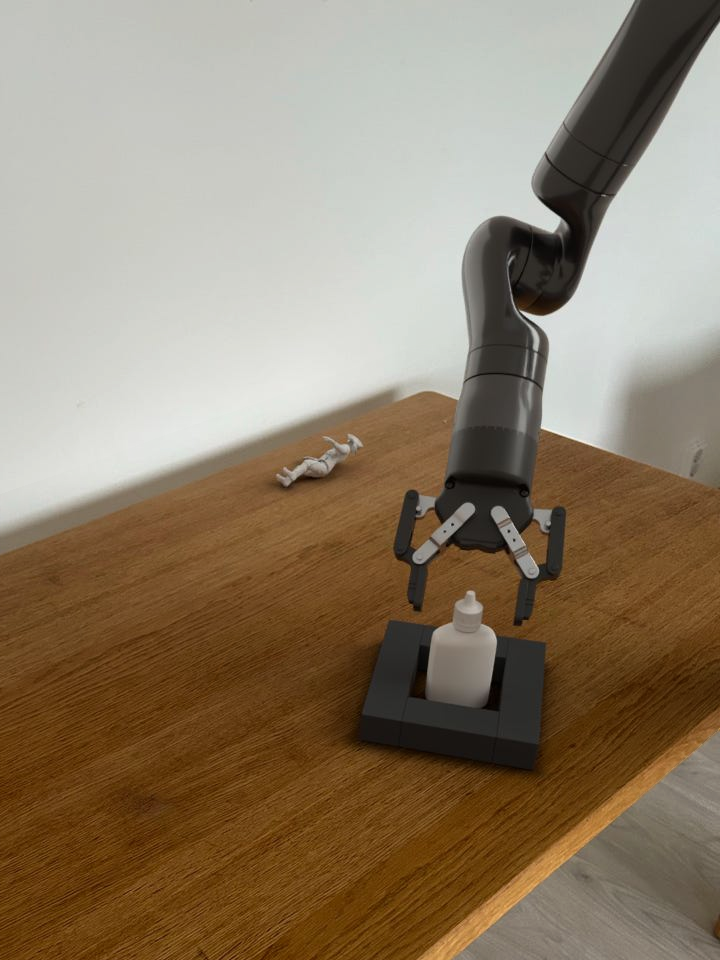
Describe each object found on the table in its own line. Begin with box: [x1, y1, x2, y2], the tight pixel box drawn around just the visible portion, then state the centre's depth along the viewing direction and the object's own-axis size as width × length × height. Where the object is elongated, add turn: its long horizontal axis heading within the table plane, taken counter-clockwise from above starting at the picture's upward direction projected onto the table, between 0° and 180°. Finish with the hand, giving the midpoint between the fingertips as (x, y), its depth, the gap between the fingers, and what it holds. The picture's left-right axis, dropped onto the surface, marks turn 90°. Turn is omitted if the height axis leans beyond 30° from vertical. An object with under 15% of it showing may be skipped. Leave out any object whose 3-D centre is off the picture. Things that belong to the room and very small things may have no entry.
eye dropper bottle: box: [424, 590, 497, 709], centre depth 90 cm, size 4×6×12 cm
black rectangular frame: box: [359, 619, 547, 771], centre depth 93 cm, size 15×15×3 cm
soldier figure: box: [275, 433, 364, 488], centre depth 131 cm, size 8×5×12 cm
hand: (467, 617), depth 87 cm, fingers open, 8 cm apart
